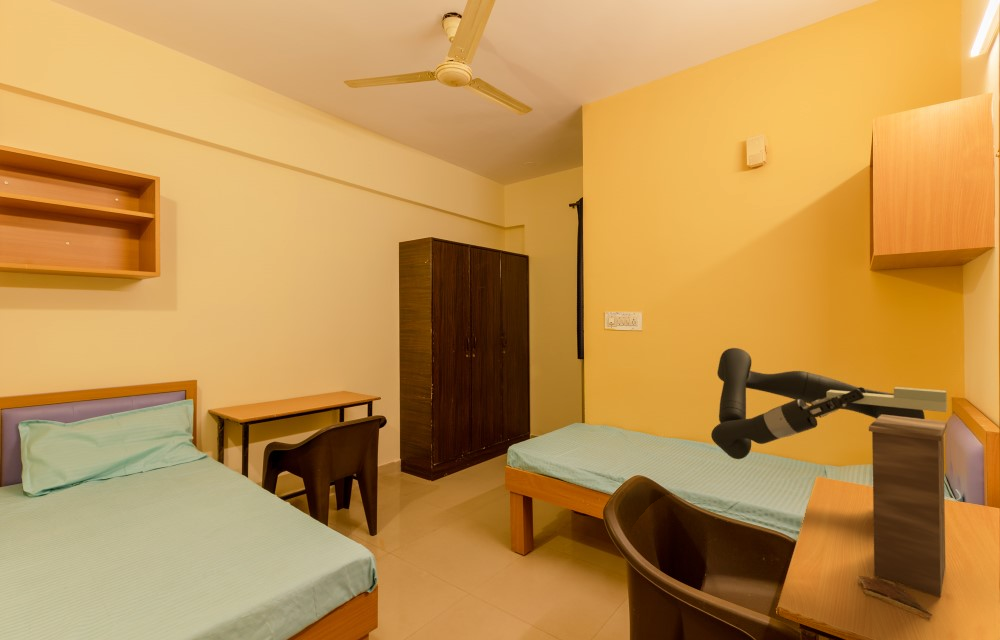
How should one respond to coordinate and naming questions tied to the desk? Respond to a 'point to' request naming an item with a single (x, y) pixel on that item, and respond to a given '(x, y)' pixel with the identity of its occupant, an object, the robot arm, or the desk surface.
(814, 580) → the desk surface
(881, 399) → the cream plank with block
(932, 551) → the walnut stand
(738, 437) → the robot arm
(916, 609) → the shard
